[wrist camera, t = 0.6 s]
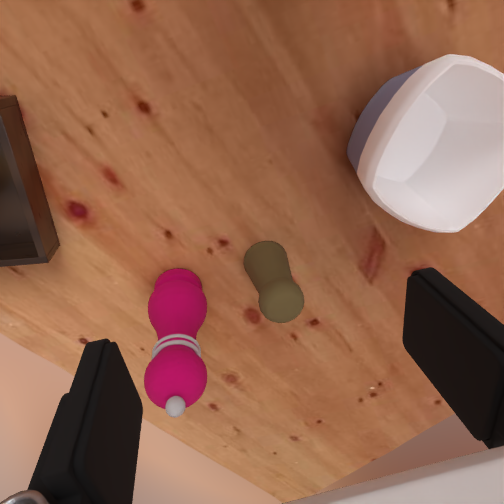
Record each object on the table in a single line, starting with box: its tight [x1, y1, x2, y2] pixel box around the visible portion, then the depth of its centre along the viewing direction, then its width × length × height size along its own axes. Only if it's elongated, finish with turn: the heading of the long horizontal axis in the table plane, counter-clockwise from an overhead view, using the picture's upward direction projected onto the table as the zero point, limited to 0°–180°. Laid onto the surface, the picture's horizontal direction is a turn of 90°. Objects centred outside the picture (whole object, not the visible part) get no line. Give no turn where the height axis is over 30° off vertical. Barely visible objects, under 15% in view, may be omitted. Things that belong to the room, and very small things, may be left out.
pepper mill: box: [144, 268, 207, 417], centre depth 40 cm, size 7×7×20 cm
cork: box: [244, 241, 304, 323], centre depth 44 cm, size 6×6×11 cm
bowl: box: [347, 54, 504, 233], centre depth 39 cm, size 15×15×11 cm
